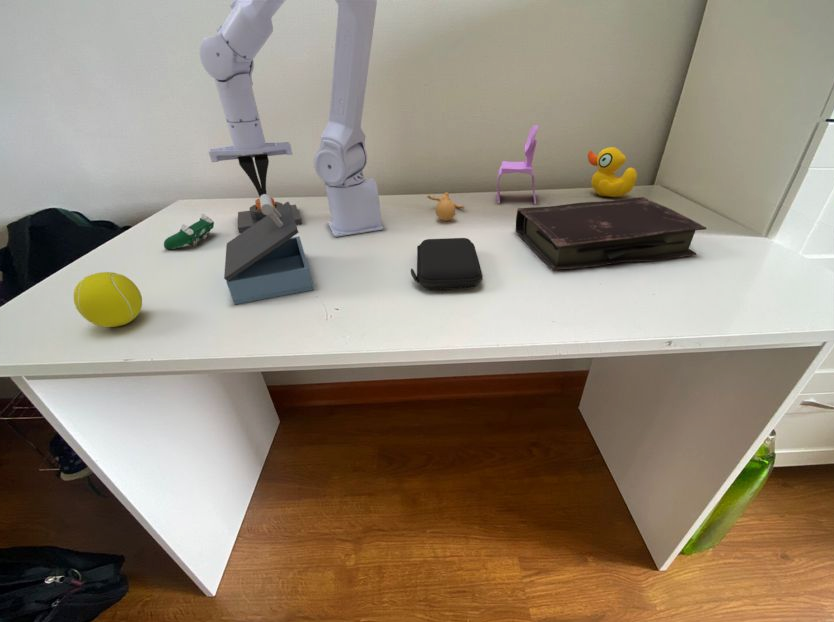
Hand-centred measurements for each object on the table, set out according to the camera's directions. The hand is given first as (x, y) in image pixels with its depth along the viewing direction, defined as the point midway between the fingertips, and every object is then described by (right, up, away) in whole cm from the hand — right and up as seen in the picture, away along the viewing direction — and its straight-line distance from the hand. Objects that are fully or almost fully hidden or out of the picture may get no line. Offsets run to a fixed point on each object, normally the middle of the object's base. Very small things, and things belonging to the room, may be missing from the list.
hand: (263, 196), depth 84 cm
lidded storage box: (+9, -20, -18) cm, 28 cm away
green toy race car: (-11, -11, -5) cm, 16 cm away
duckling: (+74, +4, +11) cm, 75 cm away
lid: (+9, -15, -22) cm, 28 cm away
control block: (0, -4, +3) cm, 5 cm away
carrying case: (+36, -19, -17) cm, 44 cm away
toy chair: (+53, +3, +11) cm, 54 cm away
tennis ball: (-8, -27, -27) cm, 39 cm away
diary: (+64, -13, -10) cm, 66 cm away
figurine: (+36, -5, -1) cm, 37 cm away
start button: (0, -2, +1) cm, 3 cm away
